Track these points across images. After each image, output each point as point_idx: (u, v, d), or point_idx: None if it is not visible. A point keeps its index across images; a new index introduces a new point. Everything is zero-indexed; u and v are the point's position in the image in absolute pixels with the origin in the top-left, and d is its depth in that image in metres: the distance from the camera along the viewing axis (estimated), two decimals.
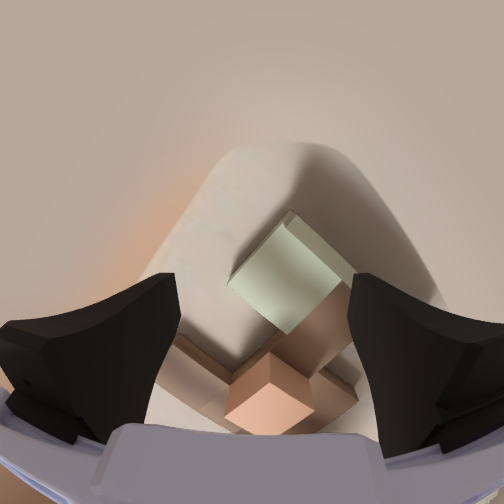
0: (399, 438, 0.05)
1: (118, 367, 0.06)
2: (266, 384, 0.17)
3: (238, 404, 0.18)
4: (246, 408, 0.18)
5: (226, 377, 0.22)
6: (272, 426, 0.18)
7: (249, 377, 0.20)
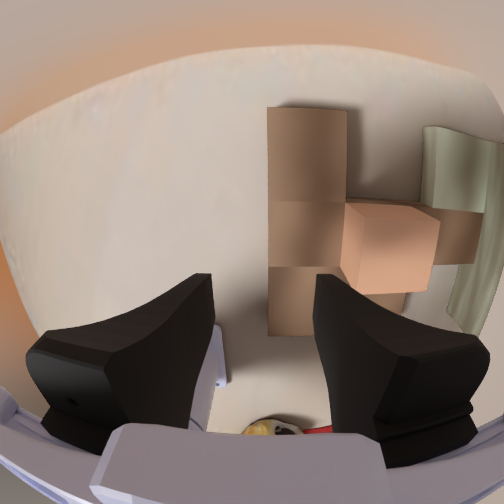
0: None
1: (169, 375, 0.06)
2: (436, 221, 0.13)
3: (393, 218, 0.13)
4: (397, 229, 0.13)
5: None
6: (385, 276, 0.14)
7: (389, 208, 0.16)
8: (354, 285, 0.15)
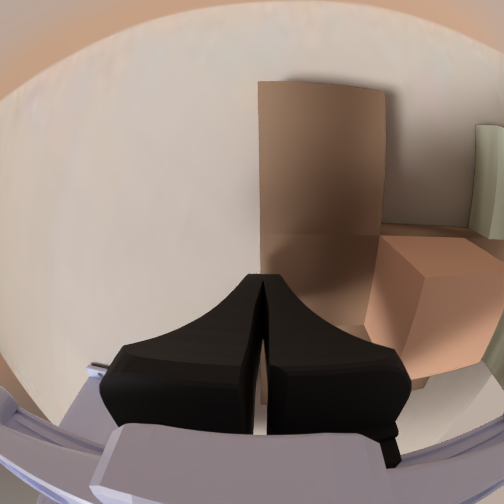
0: None
1: (251, 381, 0.06)
2: None
3: (462, 273, 0.07)
4: (465, 290, 0.07)
5: None
6: (436, 355, 0.08)
7: (444, 246, 0.09)
8: None
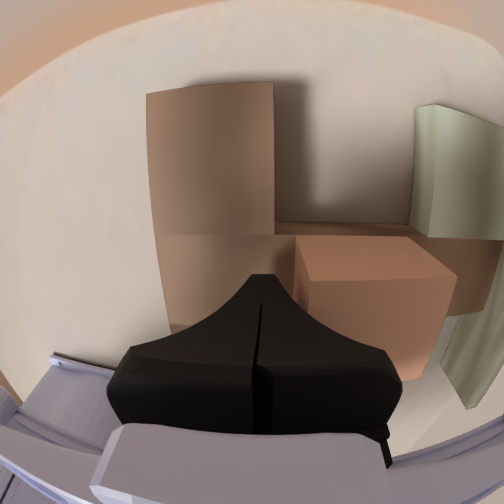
0: None
1: None
2: (450, 276, 0.07)
3: (369, 277, 0.07)
4: (376, 297, 0.07)
5: None
6: None
7: (369, 246, 0.10)
8: None
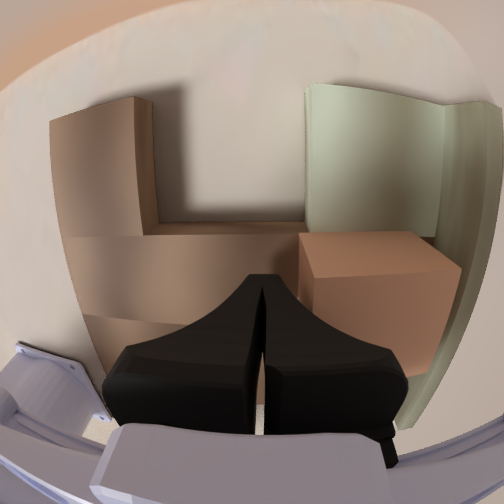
0: None
1: (253, 381, 0.06)
2: (454, 269, 0.07)
3: (373, 272, 0.07)
4: (381, 292, 0.07)
5: (148, 219, 0.12)
6: None
7: (373, 241, 0.10)
8: None
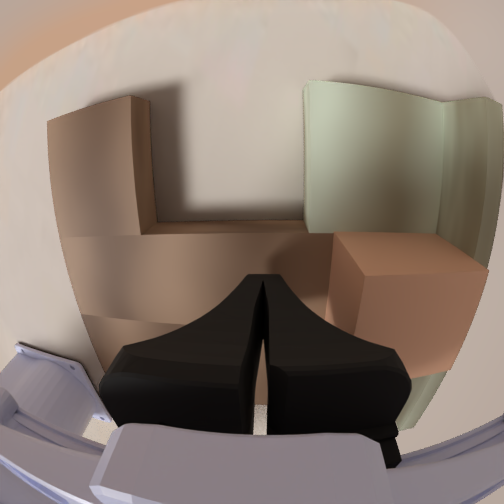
0: None
1: (251, 381, 0.06)
2: (483, 270, 0.07)
3: (416, 271, 0.07)
4: (421, 291, 0.07)
5: (146, 219, 0.12)
6: None
7: (406, 242, 0.09)
8: None
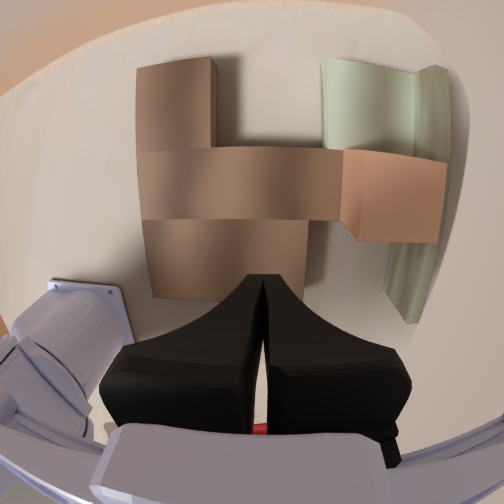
0: None
1: (251, 381, 0.06)
2: (442, 162, 0.11)
3: (395, 154, 0.12)
4: (401, 166, 0.12)
5: (213, 139, 0.16)
6: (391, 220, 0.13)
7: None
8: (356, 231, 0.14)
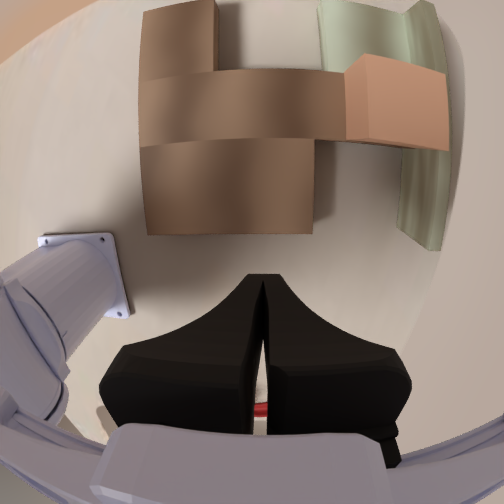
0: None
1: (251, 381, 0.06)
2: None
3: (394, 60, 0.10)
4: (401, 70, 0.10)
5: (215, 67, 0.15)
6: (399, 119, 0.11)
7: None
8: (365, 131, 0.12)
